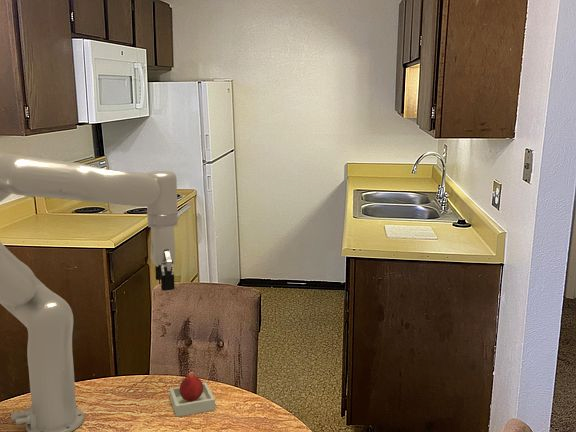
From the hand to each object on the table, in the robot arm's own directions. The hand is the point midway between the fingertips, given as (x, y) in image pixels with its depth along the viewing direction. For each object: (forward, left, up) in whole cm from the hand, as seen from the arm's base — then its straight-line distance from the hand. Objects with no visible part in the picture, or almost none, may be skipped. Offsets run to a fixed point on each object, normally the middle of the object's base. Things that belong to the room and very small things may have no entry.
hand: (164, 284), depth 147 cm
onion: (+4, -12, -28) cm, 31 cm away
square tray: (+4, -12, -28) cm, 31 cm away
